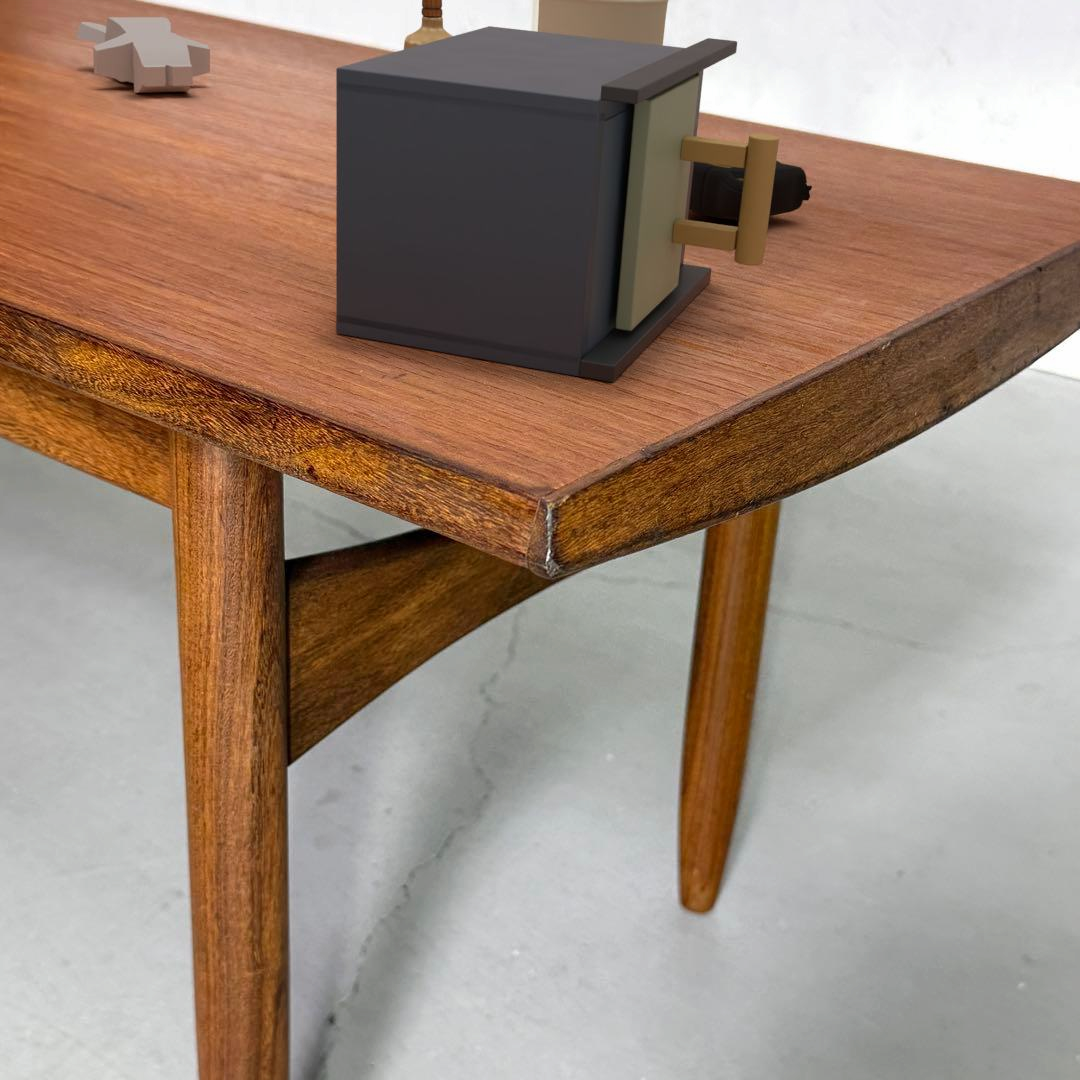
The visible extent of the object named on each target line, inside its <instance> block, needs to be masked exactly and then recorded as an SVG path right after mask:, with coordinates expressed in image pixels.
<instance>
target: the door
mask: <svg viewBox="0 0 1080 1080" xmlns="http://www.w3.org/2000/svg"><path fill="white" fill-rule="evenodd" d="M698 87H699V76H698V75H692V76H690V77H688V78H686V79H684V80H683V81H681V82H679V83H677V84H675V85H673V86H671V87H669V88H667V89H665V90H663V91H661V92H659V93H657V94H655V95H653V96H652V97H650V98H648V99H646V100H644V101H642V102H640V103H638V104H635V105H634V117H633V129H632V140H631V152H630V163H629V175H628V187H627V198H626V210H625V222H624V233H623V245H622V256H621V268H620V280H619V291H618V303H617V315H616V326H615V327H616V329H621V330H627V331H631V330H633V329H634V328H635V327H636V326H637V325H638V324H639V323H640V322H641V321H642V320H643V319H644V318H645V317H646V316H647V315H648V314H649V313H650V312H651V311H652V310H653V309H654V308H655V307H656V306H657V305H658V304H659V303H660V302H661V301H662V300H663V299H665V298H666V297H667V296H668V295H669V294H670V293H671V292H672V291H673V290H674V289H675V288H676V287H677V286H678V279H679V270H680V260H681V250H682V244H685V246H693V247H699V248H705V249H712V250H719V251H725V252H734V258H733V259H734V260H733V261H734V262H735V263H737V264H740V265H742V266H743V265H744V266H753V267H754V266H755V267H756V266H760V265H763V264H764V261H765V260H764V259H765V253H766V243H767V237H768V236H767V235H768V230H769V229H768V228H769V220H770V216H769V214H770V206H771V198H772V190H773V183H774V175H775V167H776V160H778V150H779V143H780V137H779V136H777V135H775V134H771V133H760V132H758V133H750V134H749V136H748V142H742V141H736V140H735V141H733V140H727V139H718V138H710V137H704V136H697V137H696V136H693V135H694V125H695V116H696V106H697V96H698ZM691 161H693V162H700V163H708V164H715V165H723V166H730V167H738V168H744V167H745V175H744V183H743V191H742V199H741V208H740V216H739V221H738V225H737V226H734V225H726V224H719V223H712V222H706V221H699V220H692V219H688V220H686V219H685V212H686V202H687V193H688V183H689V173H690V164H691Z"/></svg>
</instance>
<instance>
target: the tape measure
mask: <svg viewBox="0 0 1080 1080" xmlns="http://www.w3.org/2000/svg"><path fill="white" fill-rule="evenodd" d="M744 175H745V167H744V168H738V167H730V166H723V165H715V164H708V163H700V162H694V166H693V176H692V185H691V195H690V204H689V212H693V213H694V214H697V215H700V216H705V217H710V218H711V217H712V218H717V219H723V220H733V221H734V220H735V221H736V222H739V216H740V208H741V199H742V191H743V183H744ZM812 189H813V186H812V185H808V179H807V175H806V172H805V170H804V169H803V168H802V167H801V166H797V165H792V164H787V163H781V161H778V159H776V167H775V175H774V183H773V190H772V198H771V206H770V214H769V217H774V216H777V215H781V214H783V215H784V214H788V213H792V212H794V211H796V210H799V209H800V208H801V206H802V205H803V202H804V201H807V202H808V201H809V200H810V198H811V194H810V191H811V190H812Z"/></svg>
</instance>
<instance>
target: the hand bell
mask: <svg viewBox="0 0 1080 1080" xmlns="http://www.w3.org/2000/svg"><path fill="white" fill-rule="evenodd" d="M421 7H422V8H421V15H422V17H421V26H420V27H419V28H418V29H417V30H416V31H414V32H412V33H410V34H407V36H406V37H405V39H404V43H403V50H404V49H408V48H412V47H415V46H419V45H423V44H426V43H430V42H434V41H437V40H441V39H445V38H448V37H452V36H453V35H452V34H451V33H449V32H448V31H446V29H445V27H444V19H443V8H442V7H443V0H421Z"/></svg>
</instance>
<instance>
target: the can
mask: <svg viewBox="0 0 1080 1080" xmlns="http://www.w3.org/2000/svg"><path fill="white" fill-rule="evenodd" d="M668 4H669V0H538V14H537V15H538V17H537V32H546V33H555V34H564V35H573V36H582V37H591V38H600V39H609V40H618V41H627V42H636V43H645V44H654V45H663V46H664V37H665V28H666V19H667V10H668Z"/></svg>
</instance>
